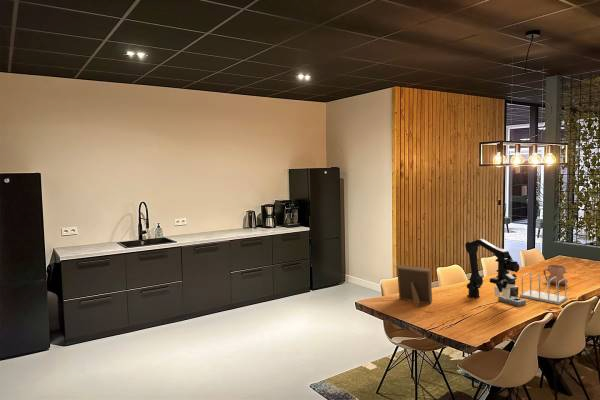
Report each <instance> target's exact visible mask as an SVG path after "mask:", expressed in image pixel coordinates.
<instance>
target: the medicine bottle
mask: <svg viewBox="0 0 600 400" xmlns="http://www.w3.org/2000/svg"><path fill="white" fill-rule="evenodd" d="M516 281H517V279H516V280H515V281H514V282H512V283H508V284H507V286H506V288H507V289H510V294H509V296H513V297H516V298H517V297H519V286H518V285H516V284H517V283H516ZM502 294H503V295H504V293H502Z"/></svg>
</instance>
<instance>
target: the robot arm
mask: <svg viewBox="0 0 600 400" xmlns="http://www.w3.org/2000/svg"><path fill="white" fill-rule="evenodd" d="M464 246H465V250H466V252H467V254H468V255H469V256H468V257H469V266H470V273H471V275H470V277H469V282H468V283H467V284H466V289H468V294H467V295H466V296H467V297H468V298H472V299H476V298H480V297H481V296H480V289H481V287H482V286H483V283H484V280H483V276H482V275H480V274H479V273H480V272H479V271H480V270H479V266H478V264H479V263H478V256H477V253H478V251H479V247H482V248H484V249H486V250H487V251H489V252H491V253H492V254H493V255H494V256H495V257H496V259H495V260H494V261H495V262H497V269H496V270H495V272H497V275H496V277H491V278H489V283H492V284H493V285H494V284H495V286H497V287H498V290H499V292H500V293H501V292H502V287H503V288H506V286H507V284H508V283H512V282H514V281H515V280H516V281H517V274H516V273H518V272H519V270H520V264H519V263H518V261H517V260H515V261H514V259H513V257H512V256H511V255H510V251H508V250H507V249H504V248H501V247H498V246H496V245H494V244H492V243H491V242H489V241H487V240H486V239H484V238H478V239H476V240H471V241H467V242H466V243H465V245H464ZM510 272H514V273H513V274H511V273H510Z"/></svg>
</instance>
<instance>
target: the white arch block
mask: <svg viewBox="0 0 600 400" xmlns="http://www.w3.org/2000/svg"><path fill="white" fill-rule="evenodd" d="M493 290H494V291H493V292H494V296H495V297H497V298H499V296H501V294H503V293H504V299H509V294H510V289H507V288H503V287H502V292H499V290H498V287H497V286H496V285H494V286H493Z"/></svg>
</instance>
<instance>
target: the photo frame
mask: <svg viewBox="0 0 600 400" xmlns="http://www.w3.org/2000/svg"><path fill="white" fill-rule="evenodd" d="M396 272H397V273H396V274H397V283H398V284H397V285H398V297H399V299H398V300H401V299H404V300H403V301H408V300H410V301H409V302H413V306H414V307H417V308H419V307H420V303H421V304H428V305H431V304H432V302H433V291H432V290H433V288H432V287H433V286H432V273H431V272H432V271H431V268H429V267H420V266H414V265H413V266H412V265H404V264H403V265H402V264H398V265H397V267H396Z"/></svg>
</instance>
